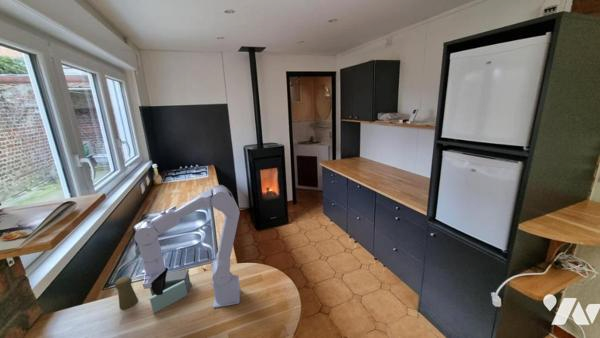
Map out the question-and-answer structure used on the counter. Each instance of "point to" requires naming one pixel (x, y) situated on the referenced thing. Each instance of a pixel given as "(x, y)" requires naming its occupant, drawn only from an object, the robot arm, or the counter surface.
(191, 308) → the counter surface
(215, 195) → the robot arm
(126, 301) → the cork
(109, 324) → the counter surface
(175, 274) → the cupboard
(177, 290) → the sage green bent plank
